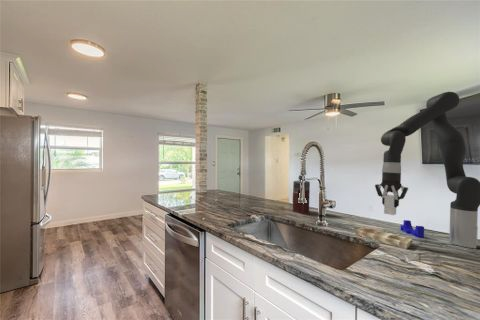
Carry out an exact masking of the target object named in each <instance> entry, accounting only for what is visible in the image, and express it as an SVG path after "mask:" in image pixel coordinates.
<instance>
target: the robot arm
mask: <svg viewBox="0 0 480 320" xmlns="http://www.w3.org/2000/svg"><path fill="white" fill-rule="evenodd" d="M459 103H460V96H459V94H457V93H456V92H454V91H446V92H441V93H440V94H437V95H434V96H432V97H429V98H428V100H427V101H426V108H424V109H423V110H421V111H419V112H418V113H416V114H413V115H411V116H410V117H409V118H407V119H406V120H404V121H403V122H402V123H400V124H399V125H397V126H395V127H393V128H391V129H389V130H387V131H386V132H384V133H383V134H382V136H381V137H380V143H381V144H382V145H383V146H386V147H389V148H388V150H385V151H384V152H383V159H382V161H383V162H382V169H381V172H382V174H381V175H382V176H381V177H382V178H381V183H378V184H376V183H375V184H374V187H375V190H376V193H377V196H378V197H381V200H382V201H381V203H382V205H383V206H384V200H385V195H389V193H392V194H393V195H394V196H395V207H396V208H398V207H399V206H400V200H403V199H404V198H405V197H406V195H407V192H408V191H409V187H408V186H407V187H406V186H404V185H402V182H401V181H402V180H401V179H402V163H401V161H402V153H403V150H404V148H405V144H406V137H409V136H411V135H412V134H414V133H416V132H417V131H419V130H421V129H422V128H423V127H424V126H425V125H427V124H428V123H430V122H431V124H432V125H433V128H434V132H435V135H436V138H437V143H438V147H439V152H440V154H441V159H442V162H443V166H444V171H445V180H446V185H447V188H448V189H449V191H450V192H452V193H453V194H456V198H455V200H452V201H451V202H450V204H449V205H450V206H449V236H448V240H449V243H451V244H453V245H456V246H460V247H464V248H469V249H470V248H471V249H475V250H476V249H477V247H478V228H479V226H478V217H479V216H478V215H479V213H478V212H479V211H478V210H479V207H480V180H479V179H477V178H475V177H472V176H467V175H466V172H465V169H464V161H465V160H464V159H465V157H466V152H467V146H466V141H465V138H464V136H463V134H462V132H460V130H458V129H457V128H456V127H455V126H454V125H452V123H450V121H449V119H448V117H447V113H448V112H450V111H452V110H453V109H455V108H457V107H458V106H459V105H460V104H459ZM381 188H382V189H383V192H382V190H381ZM400 189H401V193H400V194H399V190H400Z"/></svg>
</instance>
